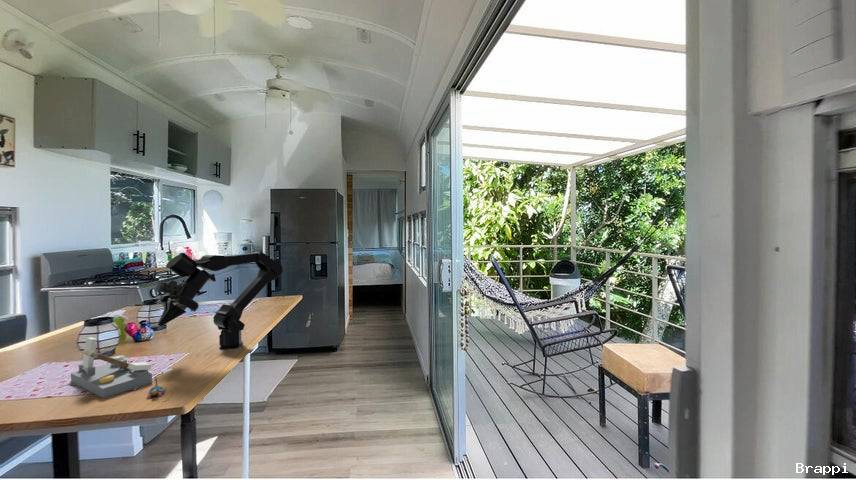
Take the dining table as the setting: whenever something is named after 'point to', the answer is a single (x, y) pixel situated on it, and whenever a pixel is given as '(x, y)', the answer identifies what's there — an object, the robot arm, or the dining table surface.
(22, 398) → the dining table surface
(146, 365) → the rocker
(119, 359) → the button
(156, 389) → the bomb figurine
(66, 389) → the dining table surface
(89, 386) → the console
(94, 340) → the lever grey
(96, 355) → the paddle walnut
